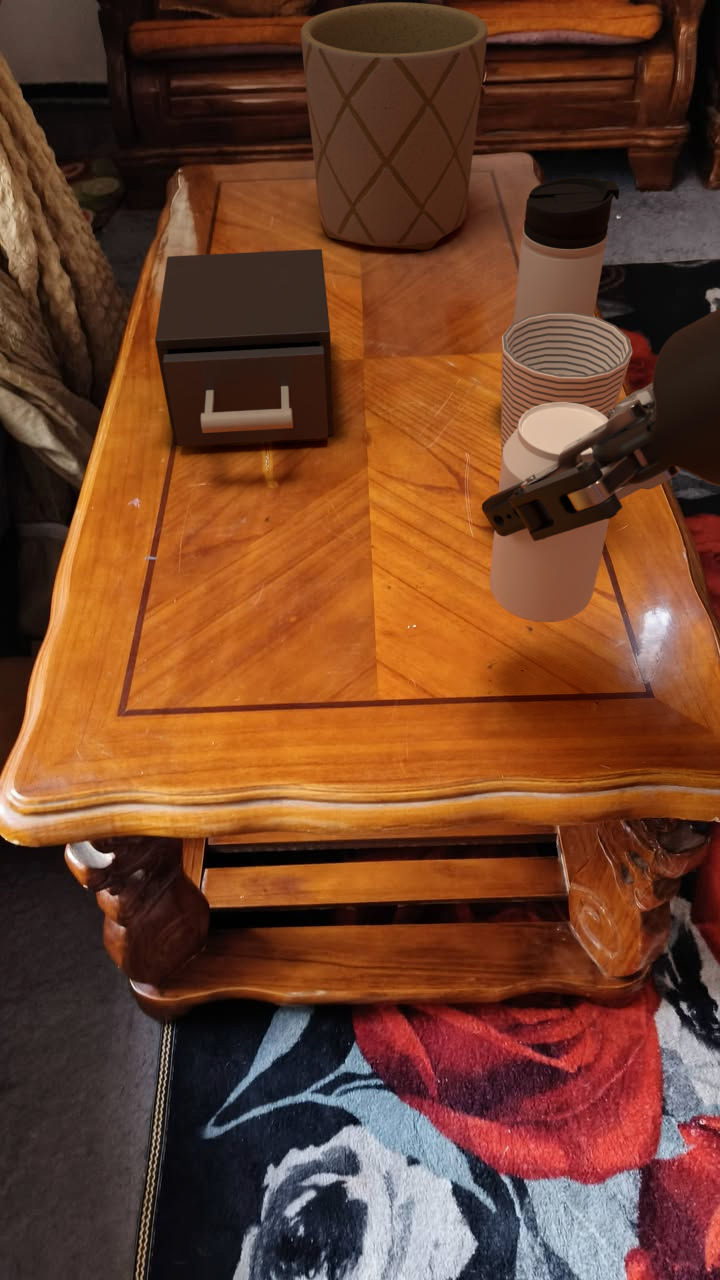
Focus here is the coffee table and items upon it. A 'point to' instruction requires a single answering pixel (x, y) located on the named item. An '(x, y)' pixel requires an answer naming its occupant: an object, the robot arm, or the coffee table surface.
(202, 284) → the single drawer box
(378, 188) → the planter
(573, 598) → the beverage can
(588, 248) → the travel mug
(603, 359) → the cup
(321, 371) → the pull-out drawer
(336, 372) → the coffee table surface
